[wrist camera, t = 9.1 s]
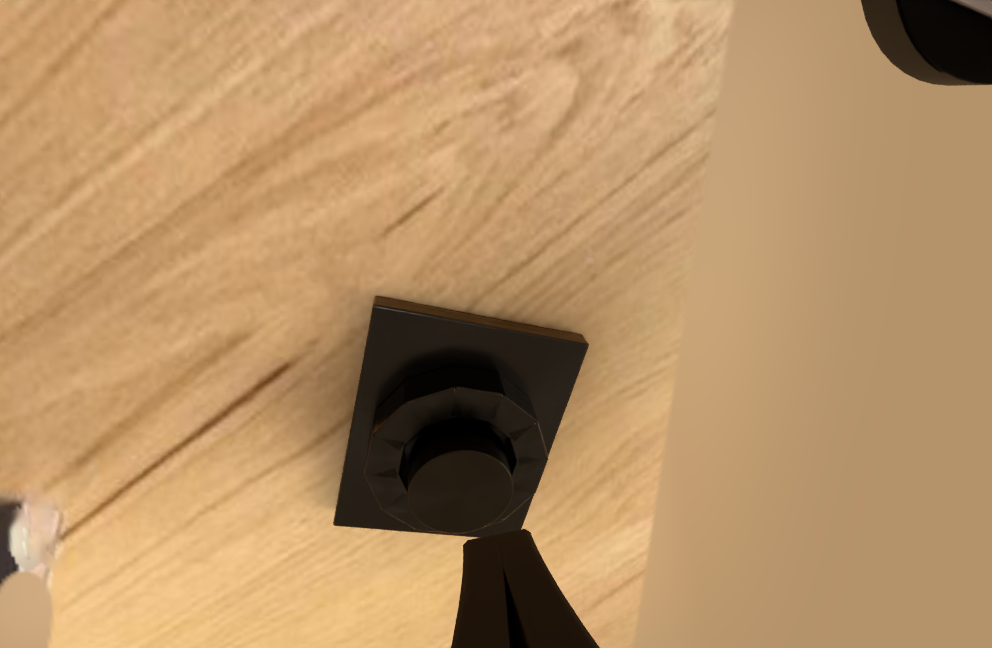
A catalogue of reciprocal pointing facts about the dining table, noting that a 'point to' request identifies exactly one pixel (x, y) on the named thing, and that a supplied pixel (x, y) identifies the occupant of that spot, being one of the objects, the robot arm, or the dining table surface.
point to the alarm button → (459, 477)
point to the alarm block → (451, 404)
